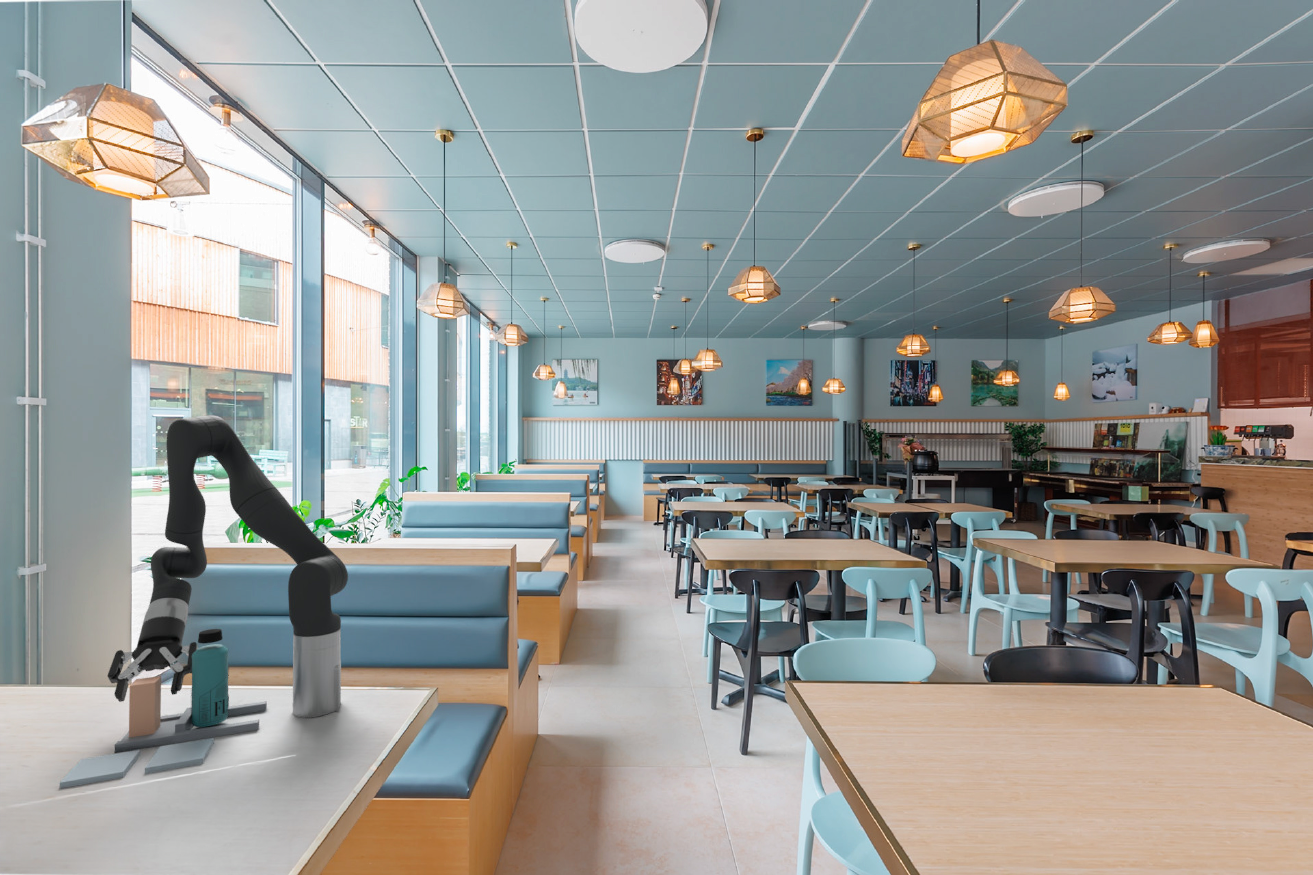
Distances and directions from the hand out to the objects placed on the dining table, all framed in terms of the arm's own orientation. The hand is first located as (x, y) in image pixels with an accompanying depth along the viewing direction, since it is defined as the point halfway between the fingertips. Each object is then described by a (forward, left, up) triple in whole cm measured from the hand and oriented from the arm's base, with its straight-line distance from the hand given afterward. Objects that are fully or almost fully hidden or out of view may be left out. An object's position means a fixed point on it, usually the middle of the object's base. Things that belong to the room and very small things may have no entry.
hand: (147, 696), depth 126 cm
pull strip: (-8, +1, -8) cm, 11 cm away
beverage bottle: (-10, +1, -8) cm, 13 cm away
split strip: (-3, +14, -8) cm, 17 cm away
